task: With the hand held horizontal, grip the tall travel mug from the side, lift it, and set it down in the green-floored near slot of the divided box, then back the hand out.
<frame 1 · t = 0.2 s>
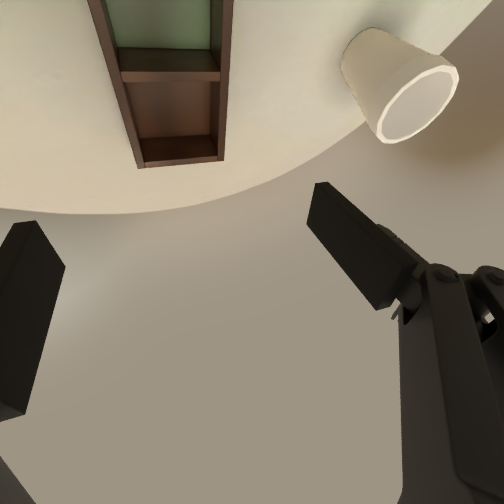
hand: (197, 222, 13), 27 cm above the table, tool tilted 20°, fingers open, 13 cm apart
divided box: (165, 50, 29), on the table
foam cup: (361, 54, 37), on the table
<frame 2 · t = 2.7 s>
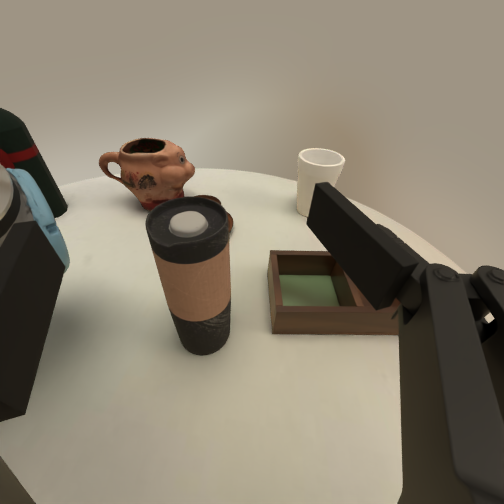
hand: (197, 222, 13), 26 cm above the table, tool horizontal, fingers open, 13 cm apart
divided box: (339, 301, 42), on the table
cup and saucer: (205, 230, 55), on the table
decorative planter: (156, 203, 62), on the table
wine bottle: (45, 214, 57), on the table
travel mug: (205, 332, 37), on the table
foam cup: (309, 210, 62), on the table
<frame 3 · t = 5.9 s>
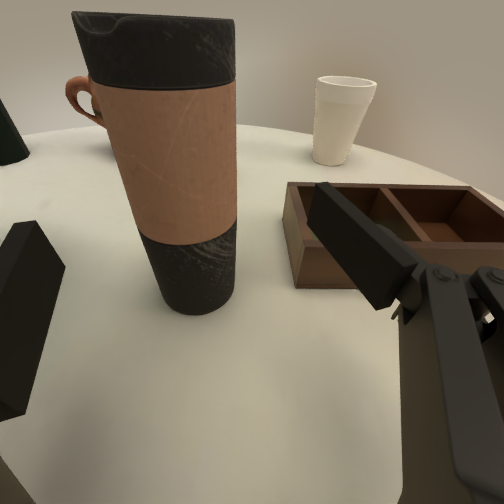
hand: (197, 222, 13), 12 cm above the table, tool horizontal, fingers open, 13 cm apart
divided box: (382, 250, 31), on the table
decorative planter: (140, 152, 50), on the table
wine bottle: (0, 161, 45), on the table
travel mug: (199, 286, 26), on the table
foam cup: (327, 160, 51), on the table
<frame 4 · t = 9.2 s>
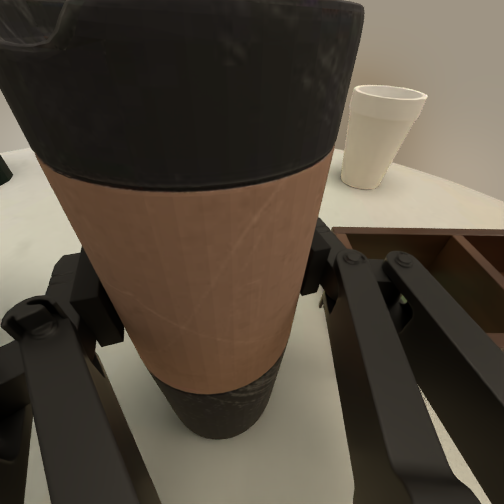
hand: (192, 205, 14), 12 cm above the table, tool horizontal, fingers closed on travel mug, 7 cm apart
divided box: (455, 315, 24), on the table
travel mug: (222, 382, 19), on the table, touching gripper
foam cup: (359, 181, 44), on the table
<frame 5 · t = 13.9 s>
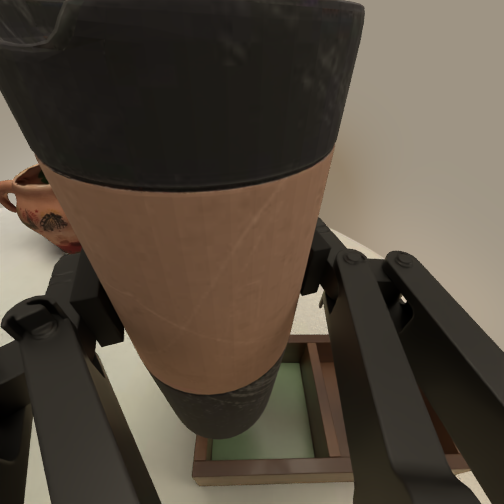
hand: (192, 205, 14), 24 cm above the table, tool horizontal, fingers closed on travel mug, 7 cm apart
divided box: (310, 410, 28), on the table
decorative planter: (84, 242, 48), on the table
travel mug: (222, 382, 19), point 12 cm above the table, touching gripper
when the fingers open (13 cm above the table, at t = 18.9 s): travel mug stays where it is, resting on divided box.
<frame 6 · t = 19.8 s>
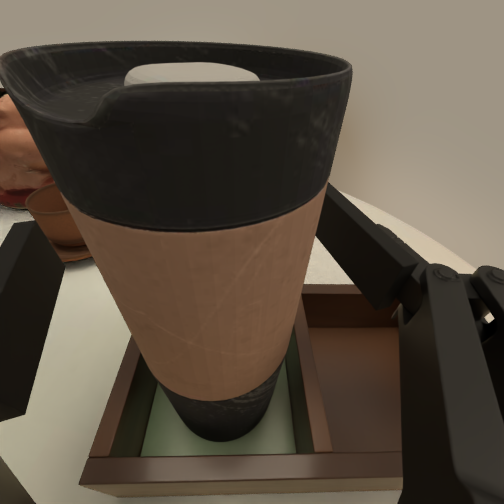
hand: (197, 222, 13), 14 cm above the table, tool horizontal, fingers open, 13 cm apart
divided box: (293, 388, 20), on the table
cup and saucer: (87, 238, 33), on the table
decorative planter: (31, 197, 40), on the table
travel mug: (224, 386, 20), point 1 cm above the table, touching divided box
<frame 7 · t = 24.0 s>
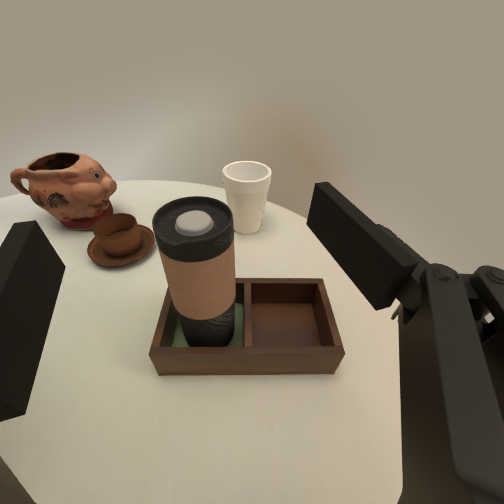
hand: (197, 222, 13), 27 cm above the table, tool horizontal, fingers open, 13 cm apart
divided box: (247, 333, 38), on the table
cup and saucer: (125, 250, 51), on the table
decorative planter: (82, 220, 58), on the table
travel mug: (210, 331, 38), point 1 cm above the table, touching divided box
foam cup: (246, 226, 58), on the table
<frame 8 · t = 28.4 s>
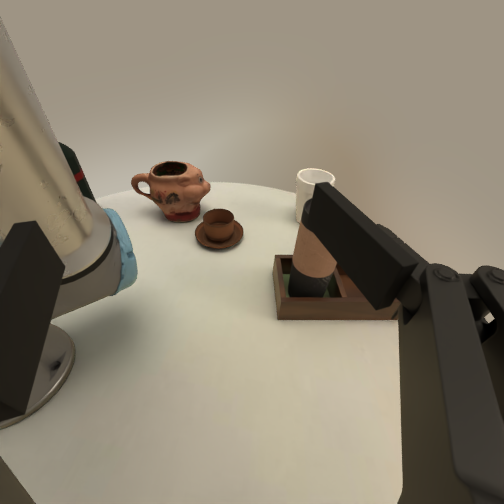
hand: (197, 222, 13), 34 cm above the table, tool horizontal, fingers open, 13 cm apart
divided box: (330, 294, 53), on the table
cup and saucer: (219, 237, 66), on the table
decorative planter: (176, 214, 73), on the table
wine bottle: (85, 225, 68), on the table
travel mug: (304, 292, 53), point 1 cm above the table, touching divided box
foam cup: (306, 220, 73), on the table
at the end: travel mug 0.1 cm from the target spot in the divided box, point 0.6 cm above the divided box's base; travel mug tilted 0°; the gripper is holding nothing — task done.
